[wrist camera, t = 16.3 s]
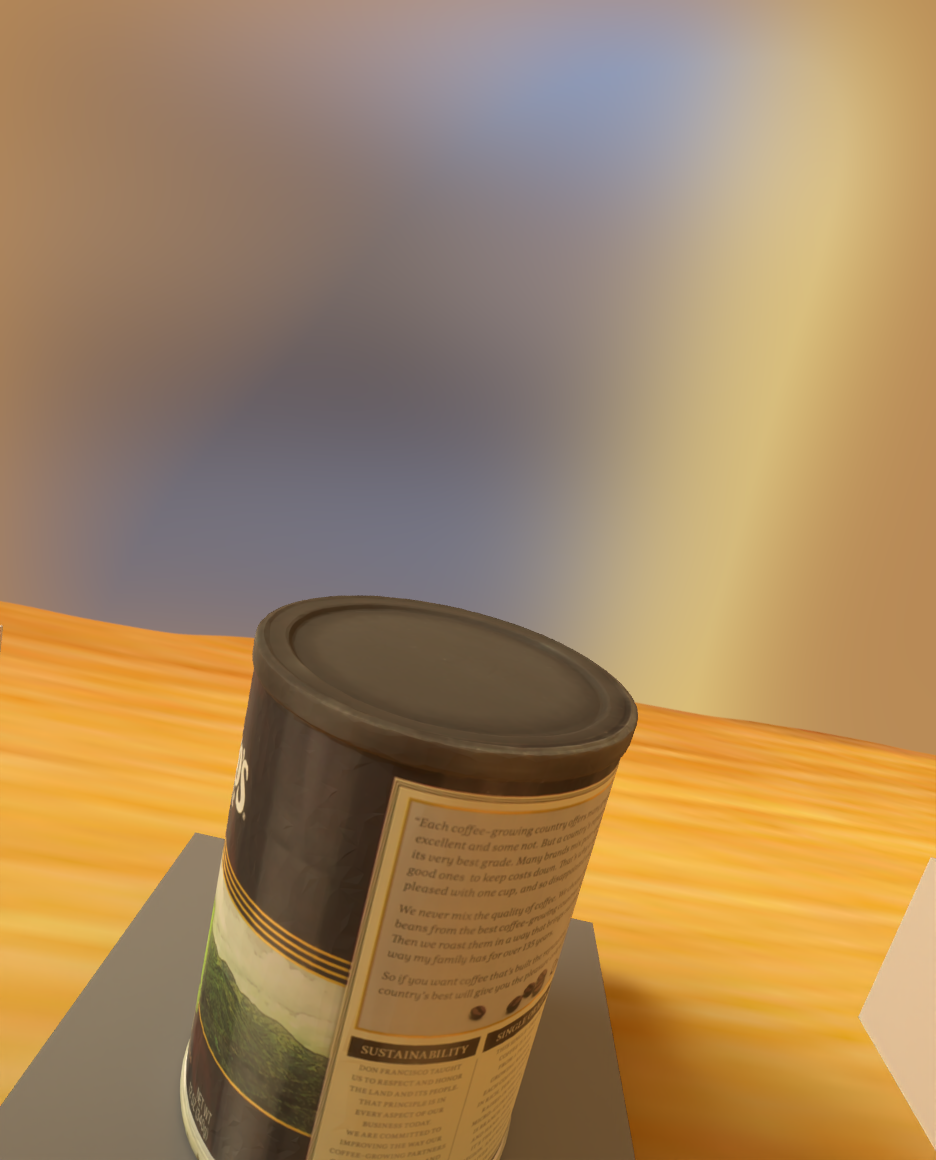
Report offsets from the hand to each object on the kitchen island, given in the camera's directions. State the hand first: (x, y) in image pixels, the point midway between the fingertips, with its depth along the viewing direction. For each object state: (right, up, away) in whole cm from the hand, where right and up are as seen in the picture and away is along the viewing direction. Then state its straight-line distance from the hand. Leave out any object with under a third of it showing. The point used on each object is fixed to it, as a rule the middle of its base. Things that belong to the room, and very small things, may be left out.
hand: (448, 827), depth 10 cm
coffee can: (-3, -12, +13) cm, 18 cm away
